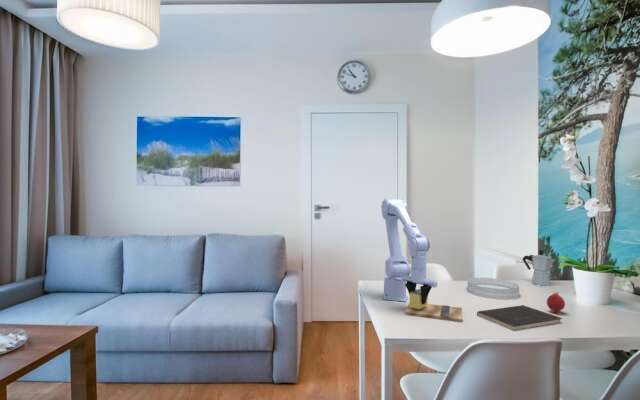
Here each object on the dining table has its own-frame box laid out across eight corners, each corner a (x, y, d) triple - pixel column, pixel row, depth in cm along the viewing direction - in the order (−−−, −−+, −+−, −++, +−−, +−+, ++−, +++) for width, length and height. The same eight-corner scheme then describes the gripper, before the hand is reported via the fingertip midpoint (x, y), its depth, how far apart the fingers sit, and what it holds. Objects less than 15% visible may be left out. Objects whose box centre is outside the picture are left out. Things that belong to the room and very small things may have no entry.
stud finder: (409, 307, 132) (409, 291, 132) (418, 303, 137) (418, 288, 137) (419, 309, 130) (419, 293, 130) (427, 305, 135) (427, 290, 135)
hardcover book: (561, 324, 121) (561, 318, 121) (514, 332, 113) (514, 325, 113) (521, 310, 136) (521, 304, 136) (476, 316, 128) (476, 310, 128)
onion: (559, 316, 128) (559, 294, 128) (543, 311, 134) (543, 291, 134) (567, 313, 131) (568, 293, 131) (551, 309, 136) (552, 289, 136)
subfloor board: (405, 314, 128) (405, 311, 128) (409, 304, 141) (409, 301, 141) (462, 322, 121) (462, 318, 121) (461, 310, 134) (461, 307, 134)
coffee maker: (557, 285, 175) (557, 250, 175) (554, 288, 169) (554, 252, 169) (524, 280, 186) (524, 247, 186) (520, 283, 179) (520, 249, 179)
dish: (528, 295, 157) (529, 284, 157) (504, 303, 145) (504, 291, 145) (482, 285, 176) (483, 275, 176) (457, 291, 163) (457, 281, 163)
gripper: (440, 269, 131) (440, 304, 131) (407, 263, 141) (406, 296, 141) (432, 271, 126) (432, 308, 126) (398, 266, 136) (397, 300, 136)
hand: (418, 302), depth 133 cm, fingers closed on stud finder, 4 cm apart
